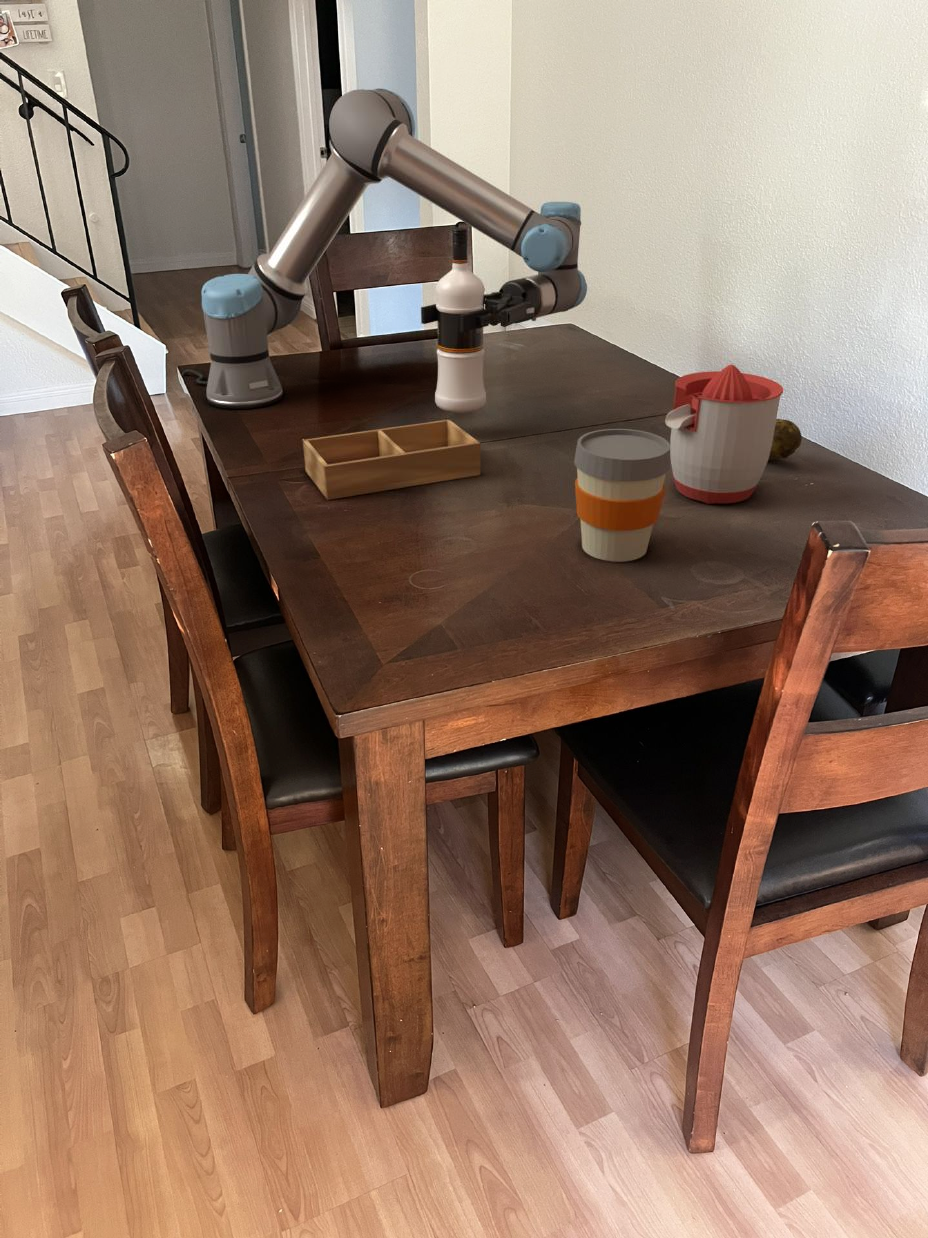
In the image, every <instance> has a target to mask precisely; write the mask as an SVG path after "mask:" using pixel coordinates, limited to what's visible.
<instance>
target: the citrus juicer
mask: <svg viewBox="0 0 928 1238" xmlns="http://www.w3.org/2000/svg"><path fill="white" fill-rule="evenodd" d="M674 386H675V389H674V399H673V400H674V401H673V407H672V410H671V411H669V412H668V413H667V414H666V416H665V420H664V422H665V425H666V426H667V427H668V428H670V430H671V431H670V442H669V444H670V466H671V470H672V473H671V474H672V478H673V481H674V486H675V488H676V490H677V491H678V493H680V494H681V495H682V496H684V497H687V498H688V499H692V500H695V501H698V502H701V503H702V504H706V505H713V504H735V503H739V502H743V501H745V500H747V499H749V498H750V497H751V495H752V494H753V493H754V492H755V490H756V488H757V487H758V485H759V483H760V480H761V478H762V476H763V474H764V472H765V470H766V468H767V467H766V466H767V464H768V461H769V460H768V459H769V455H770V451H771V446H772V441H773V435H774V429H775V424H776V419H778V412H779V406H780V399H781V396H782V395H783V393H784V388H783V386H782V385H781V384H780V383H778V382H777V381H775V380H773V379H770V378H767V377H765V376H760V375H756V374H750V373H744V372H741V371H740V369H739V368H738V367H737V366H736V365H735V364H732V363H731V364H728V365H726V366H725V367H723V368H722V369H721V370H719V371H718V370H717V371H700V372H692V373H688V374H685V375H682V376H680V377H678V378H677V379H676V380H675V382H674Z"/></svg>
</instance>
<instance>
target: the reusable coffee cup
mask: <svg viewBox="0 0 928 1238" xmlns="http://www.w3.org/2000/svg"><path fill="white" fill-rule="evenodd" d="M574 454H575V455H574V460H573V461H574V466H575V467H576V473H577V477H576V478H575V481H574V489H575V502H576V503H575V504H576V515H577V517H578V518H579V520H580V532H581V535H580V536H581V548H582V550H583V551H584V552H585V553H586V554H587V555H589V556H591V557H592V558H595V559H599V560H602V561H606V562H618V563H619V562H620V563H621V562H622V563H623V562H630V561H635V560H638V559H641V558H642V557H643V556H645V555H646V554H647V550H648V546H649V544H650V538H651V535H652V532H653V531H652V530H653V528H654V524H655V523H657V521H658V519H659V516H660V512H661V508H662V504H663V500H664V496H665V492H666V489H667V487H666V484H665V480H666V475H667V473H668V472H669V471H670V469H671V456H670V442H669V441H668V440H667V439H666V438H664V437H662V436H660V435H657V434H655V433H652V432H650V431H649V432H648V431H644V430H638V429H629V428H605V429H598V430H593V431H590V432H587V433H585V434H583V435H581V436H580V437H579V438H578V439H577V442H576V449H575V453H574Z"/></svg>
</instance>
